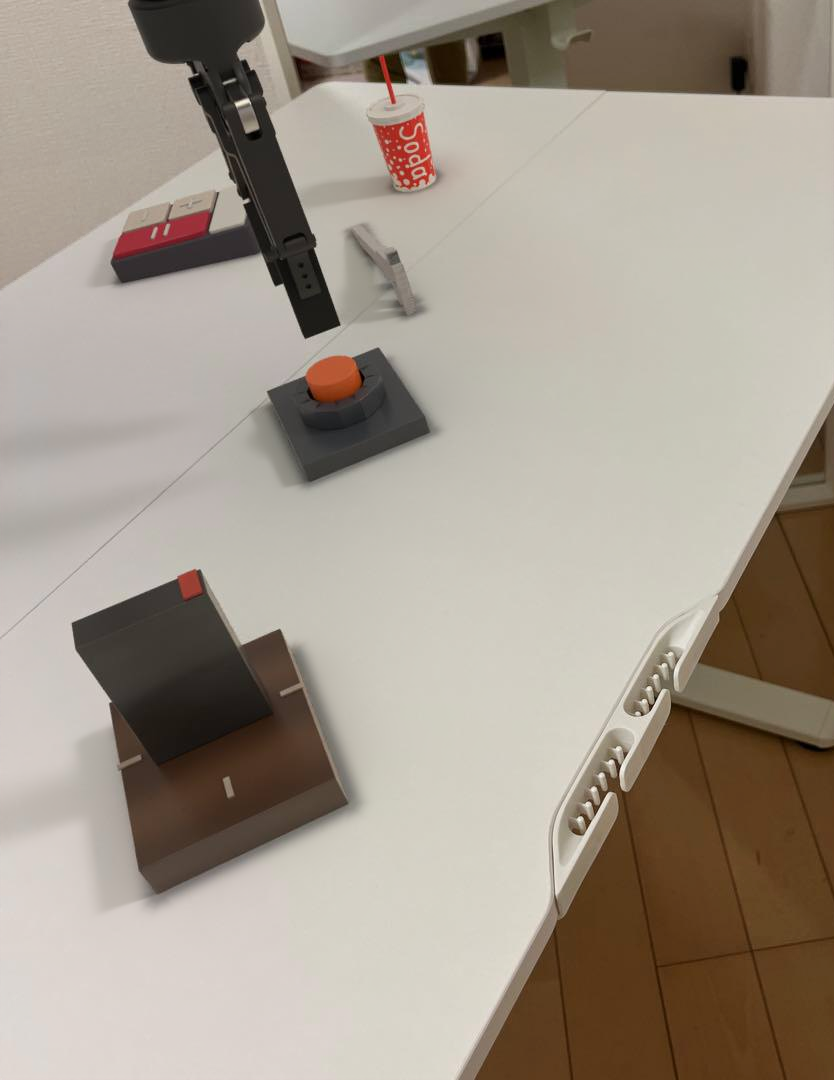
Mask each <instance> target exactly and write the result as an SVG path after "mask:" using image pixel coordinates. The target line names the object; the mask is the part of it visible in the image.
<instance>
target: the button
mask: <svg viewBox="0 0 834 1080" xmlns="http://www.w3.org/2000/svg"><path fill="white" fill-rule="evenodd" d="M305 376H306V380H307V383H308V385H309V388H310V390H311V393H312V396H313V398H314V399H315V400H316V401H318V402H321V403H323V402H334V401H339V400H341V399H344V398H346V397H349V396H351V395H352V394H353V393H355V392H356V391H357V390H358V389H359V388H360V387H361V385H362V380H361V377H360V374H359V371H358V368H357V366H356V363H355V361H354V360H353V359H352V357H350V356H348V355H332V356H328V357H325V358H322V359H319V360H318V361H317V362H314V364H312V365H311V366H310V367H309V368H308V370H307V371H306V373H305Z"/></svg>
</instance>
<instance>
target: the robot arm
mask: <svg viewBox="0 0 834 1080" xmlns="http://www.w3.org/2000/svg"><path fill="white" fill-rule="evenodd" d="M127 6H128V8H129V11H130V14H131V16H132V18H133V21H134V23H135V26H136V28H137V30H138V33H139V36H140V38H141V41H142V43H143V45H144V48H145V50H146V52H147V54H148V56H149V57H150V58H151V59H152V60H154V61H156V62H157V63H161V64H168V65H183V64H186V66H187V67H189V69H190V72H191V74H192V76H190V77H187V81H188V84H189V86H190V89H191V92H192V94H193V96H194V98H195V100H196V102H197V104H198V105H199V106H200V107H201V109H202V112H203V114H204V115H203V116H204V118H205V121H206V122H207V124H208V126H209V129H210V130H211V132H212V133H213V134H214V135H215V137H216V140H217V143H218V145H219V148H220V151H221V154H222V157H223V159H224V162H225V165H226V167H227V170H228V173H227V175H228V176H229V179H230V181H232V182H233V184H234V185H237V187H236V188H237V193H238V195H239V196H240V197H241V198H242V200H246V199H249V201H250V202H248V203H245V204H243V206H244V209H245V211H246V214H247V217H248V219H249V222H250V224H251V227H252V230H253V232H254V235H255V237H256V240H257V242H258V245H259V248H260V250H261V252H260V253H261V256H262V258H263V260H264V263H265V265H266V268H267V270H268V274H269V276H270V278H271V279H270V280H271V281H272V284H273V286H274V287H275V288H276V287H279V286H280V285H283V288H284V289H285V293H286V295H287V297H288V300H289V303H290V305H291V308H292V310H293V313H294V316H295V319H296V321H297V323H298V326H299V330H300V332H301V334H302V337H303V338H304V340H307V339H309V338H313V337H314V336H318V335H321V334H323V333H325V332H327V331H331V330H333V329H336V328H338V327H341V326H342V324H341V322H340V319H339V316H338V312H337V309H336V307H335V304H334V302H333V298H332V295H331V292H330V289H329V287H328V285H327V281H326V279H325V275H324V273H323V270H322V267H321V264H320V261H319V258H318V256H317V255H318V254H317V253H316V250H315V248H317V246H318V244H317V238H316V235H315V233H313V231H312V230H311V227H310V225H309V224H310V223H309V221H308V219H307V216H306V213H305V211H304V208H303V206H302V203H301V200H300V197H299V194H298V192H297V189H296V187H295V184H294V182H293V179H292V176H291V174H290V171H289V168H288V165H287V163H286V159H285V158H284V155H283V151H282V149H281V146H280V143H279V141H278V138H277V136H276V135H277V133H276V128H275V127H274V124H273V121H272V118H271V117H270V114H269V111H268V108H267V105H268V102H267V101H266V97H265V96H264V88H263V85H262V83H261V81H260V78H259V75H258V73H257V71H256V69H254V68H253V69H251V68H250V65H249V62H248V60H247V59H246V58H243V59H240V57H239V55H238V51H239V50H240V48H241V47H242V46H243V45H245V44H246V43H251V42H252V41H254V40H255V39H257V37H258V36H259V35H260V34H261V33H262V32H263V30H264V28H265V24H266V18H265V15H264V12H263V8H262V6H261V3H260V0H128V1H127Z"/></svg>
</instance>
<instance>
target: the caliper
mask: <svg viewBox="0 0 834 1080" xmlns="http://www.w3.org/2000/svg"><path fill="white" fill-rule="evenodd" d="M351 232H352V234H353V236H354V237H355V239H356V240H357V242H358V244H360V247H361V248H362V249H363V250H364V252H365V253H367V255H368V256H369V257H370V258H371V259H372V260H373V261H374V262H375V263H376V264H377V265H378V267H380V268H381V270H382V273H383V276H384V278H386V279H387V281H390V282H391V284H392V288H393V290H394V292H395V295H396V297H397V300H398V302H399V305H400V307H402V308H404V309H403V310H404V312H405V314H406V315H407V316H411V315H413V314H416V313H418V308H417V304H416V301H415V298H414V294H413V291H412V288H411V284H410V281H409V278H408V276H407V272H406V270H405V267H404V264H403V262H402V261H401V258H400V255H399V252H398V250H397V248H395V246H391V247H389V248H388V247H387V246H383V245H382V244H381V243H380V242H379V241H378V240H377V239H376V238H375V237H374V236H373V235H372V234H371V233H370V232H369V231H368V230H367V229H366V228H365V227H364V226H362V224H358V225H355V226H353V227H351Z"/></svg>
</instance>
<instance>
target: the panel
mask: <svg viewBox="0 0 834 1080" xmlns="http://www.w3.org/2000/svg"><path fill="white" fill-rule="evenodd" d="M241 645H242V646H243V648H244V650H245V652H246V654H247V656H248V657H249V659H250V661H251V663H252V665H253V667H254V668H255V670H256V672H257V674H258V676H259V678H260V679H261V681H262V683H263V685H264V687H265V689H266V692H267V695H268V698H269V701H270V704H271V707H272V710H273V713H272V714H270V715H267V716H265V717H263V718H261V719H259V720H256V721H254V722H252V723H250V724H247V725H245V726H243V727H241V728H239V729H236V730H234V731H232V732H230V733H227V734H225V735H223V736H221V737H219V738H216V739H214V740H212V741H210V742H207V743H205V744H203V745H201V746H199V747H196V748H194V749H192V750H190V751H187V752H185V753H183V754H181V755H179V756H176V757H174V758H172V759H170V760H167V761H165V762H163V763H161V764H159V765H156V764H155V763H154V761H153V760H152V758H151V757H150V755H149V754H148V753H147V751H146V750H145V748H144V747H143V746H142V744H141V743H140V741H139V740H138V738H137V737H136V736H135V734H134V733H133V731H132V730H131V728H130V727H129V726H128V724H127V723H126V721H125V720H124V718H123V717H122V716H121V714H120V713H119V711H118V710H117V708H116V707H115V706H114V704H113V703H112V701H110V702H108V706H109V713H110V718H111V722H112V724H111V725H112V729H113V734H114V741H115V745H116V751H117V757H118V762H119V763H118V764H116V768H117V771H119V772H120V775H121V780H122V786H123V790H124V796H125V802H126V807H127V813H128V819H129V824H130V829H131V835H132V841H133V847H134V852H135V858H136V863H137V868H138V872H139V873H140V875H141V876H142V877H143V878H144V880H145V881H146V882H147V883H148V884H149V886H150V887H151V888H152V890H154V892H155V894H157V895H159V894H162V893H164V892H166V891H168V890H170V889H172V888H175V887H176V886H179V885H181V884H183V883H185V882H187V881H189V880H191V879H193V878H195V877H198V876H200V875H202V874H204V873H206V872H208V871H211V870H213V869H214V868H217V867H219V866H221V865H223V864H225V863H227V862H229V861H231V860H234V859H236V858H237V857H240V856H242V855H244V854H246V853H249V852H250V851H252V850H255V849H257V848H259V847H262V846H263V845H265V844H267V843H270V842H271V841H274V840H276V839H278V838H281V837H282V836H285V835H287V834H289V833H290V832H293V831H294V830H296V829H299V828H301V827H303V826H306V825H307V824H309V823H312V822H314V821H316V820H318V819H320V818H322V817H324V816H326V815H328V814H331V813H333V812H335V811H338V810H339V809H341V808H344V807H345V806H348V805H349V803H350V802H349V799H348V797H347V794H346V792H345V789H344V786H343V784H342V781H341V778H340V776H339V773H338V769H337V767H336V765H335V763H334V760H333V757H332V754H331V751H330V749H329V745H328V744H327V741H326V737H325V735H324V733H323V730H322V727H321V725H320V722H319V719H318V717H317V714H316V711H315V709H314V706H313V703H312V700H311V698H310V695H309V692H308V690H307V688H306V685H305V682H304V679H303V677H302V673H301V672H300V668H299V666H298V662H297V661H296V658H295V655H294V653H293V651H292V649H291V647H290V645H289V643H288V641H287V639H286V637H285V635H284V633H283V631H282V629H281V628H278V629H275V630H273V631H271V632H268V633H266V634H264V635H261V636H260V637H257V638H255V639H252V640H250V641H247V642H246V643H243V644H241Z"/></svg>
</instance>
